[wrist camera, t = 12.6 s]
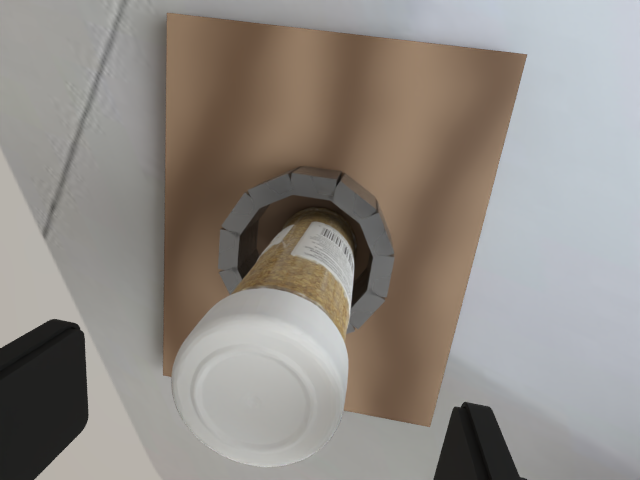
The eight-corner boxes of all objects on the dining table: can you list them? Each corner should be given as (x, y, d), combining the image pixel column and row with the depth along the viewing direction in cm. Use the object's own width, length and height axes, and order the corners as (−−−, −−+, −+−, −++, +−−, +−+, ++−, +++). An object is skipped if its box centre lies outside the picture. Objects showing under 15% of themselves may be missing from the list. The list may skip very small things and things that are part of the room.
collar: (401, 179, 21) (407, 190, 17) (374, 321, 23) (375, 354, 20) (246, 157, 21) (223, 163, 18) (236, 297, 24) (214, 325, 21)
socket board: (515, 59, 20) (527, 54, 18) (426, 410, 26) (429, 426, 25) (180, 20, 21) (166, 12, 20) (173, 362, 28) (163, 375, 26)
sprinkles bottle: (269, 220, 22) (133, 345, 10) (344, 195, 21) (305, 296, 9) (296, 290, 23) (208, 489, 11) (369, 269, 22) (369, 459, 10)
